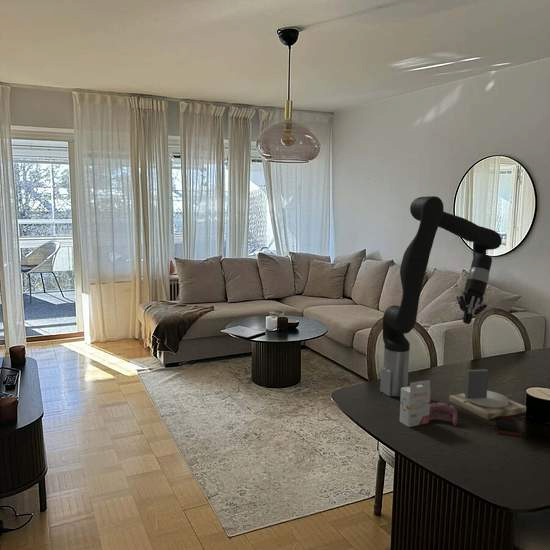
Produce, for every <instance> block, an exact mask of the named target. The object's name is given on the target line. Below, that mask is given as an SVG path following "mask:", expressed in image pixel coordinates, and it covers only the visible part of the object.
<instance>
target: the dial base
mask: <svg viewBox="0 0 550 550" xmlns="http://www.w3.org/2000/svg"><path fill="white" fill-rule="evenodd" d="M487 391H489V389H487ZM448 401H449V402H451V403H453V404H455V405H457V406H458V407H461V408H463V409H465V410H467V411H469V412H470V413H472V414H475V415H477V416H479V417H481V418H482V419H484V420H487V421H488V420H494V417H497V416H505V417H510V416H514V415H519V414H524V412H525V411H526V412H527V406H525V405H523V404H521V403H520V402H516V401H514V400H512V399H509V404H508V406H506V407H502V408H490V407H484V406H479V405H476V404H474V403H471V402H470V401H468V400H467V398H465V392H463V393H459V394H452V395H451V394H449V399H448ZM526 412H525V413H526Z"/></svg>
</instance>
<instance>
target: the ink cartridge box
mask: <svg viewBox="0 0 550 550" xmlns="http://www.w3.org/2000/svg"><path fill="white" fill-rule="evenodd" d="M399 400H400V404H399V405H400V406H399V422H400V423H401V424H402V425H404V426H406V427H408V428H410V427H415V426H420V425H421V426H422V425H425V424H429V422H430V421H429V410H430V404H431V380H430V379H428V380H420V381H414V382H410V385H409V386H407V387H404V388H401V397H400V398H399Z"/></svg>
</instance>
